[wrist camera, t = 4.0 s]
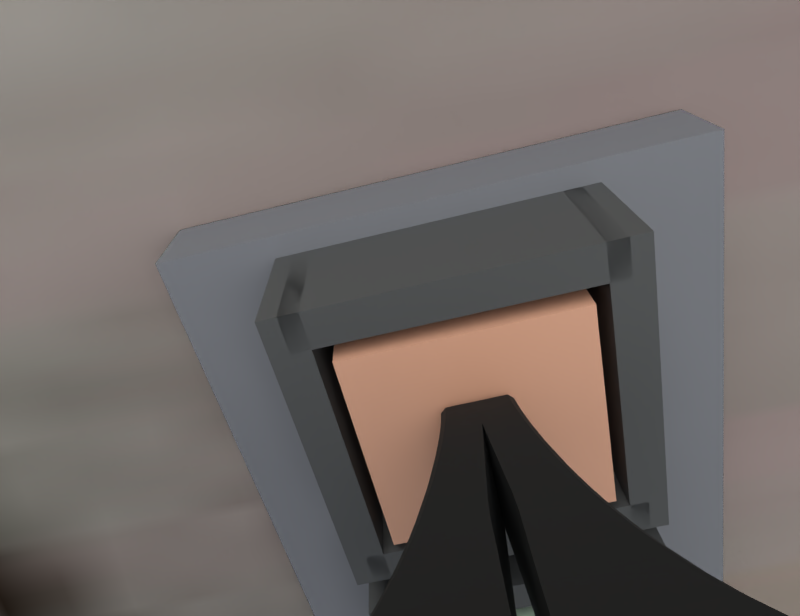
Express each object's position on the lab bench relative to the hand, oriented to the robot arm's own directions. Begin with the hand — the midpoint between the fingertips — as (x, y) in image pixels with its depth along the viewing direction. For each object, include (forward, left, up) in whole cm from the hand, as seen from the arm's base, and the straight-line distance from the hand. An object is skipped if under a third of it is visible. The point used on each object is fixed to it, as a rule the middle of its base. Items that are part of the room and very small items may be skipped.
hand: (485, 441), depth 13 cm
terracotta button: (0, 0, -2) cm, 2 cm away
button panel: (-6, -5, -5) cm, 9 cm away
